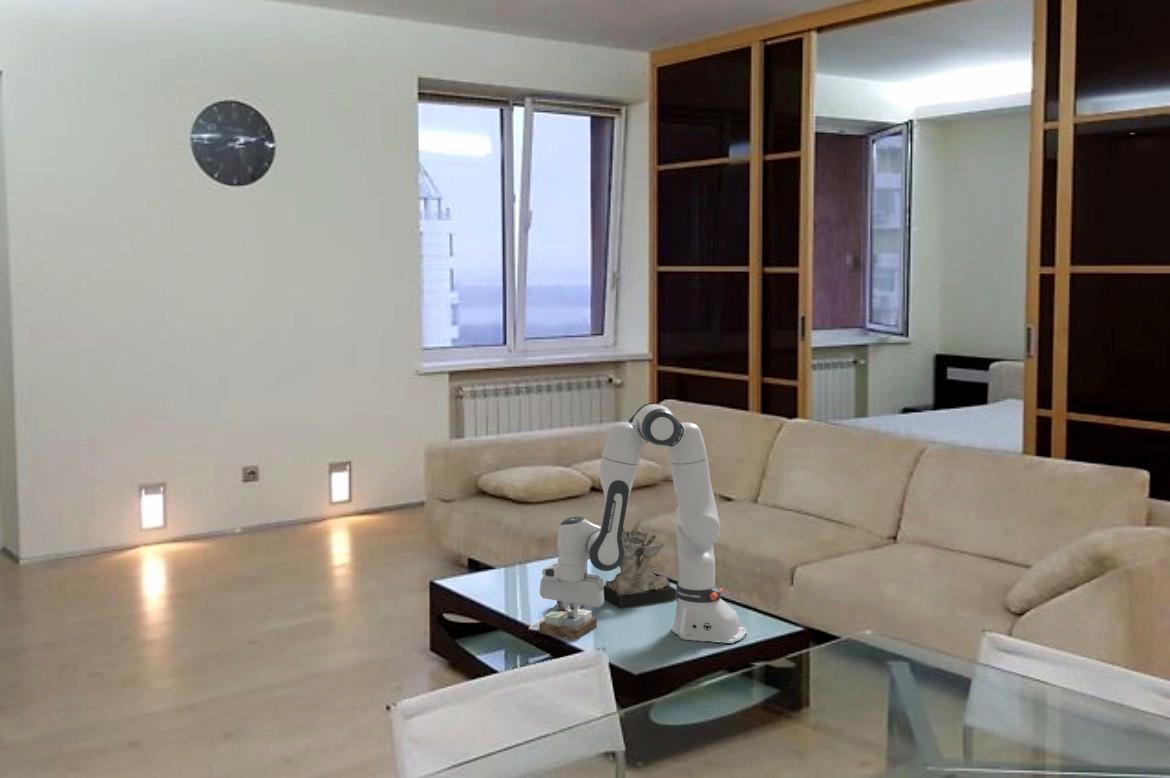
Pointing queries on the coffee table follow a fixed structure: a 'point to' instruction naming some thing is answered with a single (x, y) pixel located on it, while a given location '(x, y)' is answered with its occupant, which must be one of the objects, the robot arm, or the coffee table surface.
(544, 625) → the keypad base
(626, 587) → the coral
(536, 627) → the card
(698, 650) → the coffee table surface
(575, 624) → the key slate
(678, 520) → the robot arm
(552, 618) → the key sage
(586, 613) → the key ivory
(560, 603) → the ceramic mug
